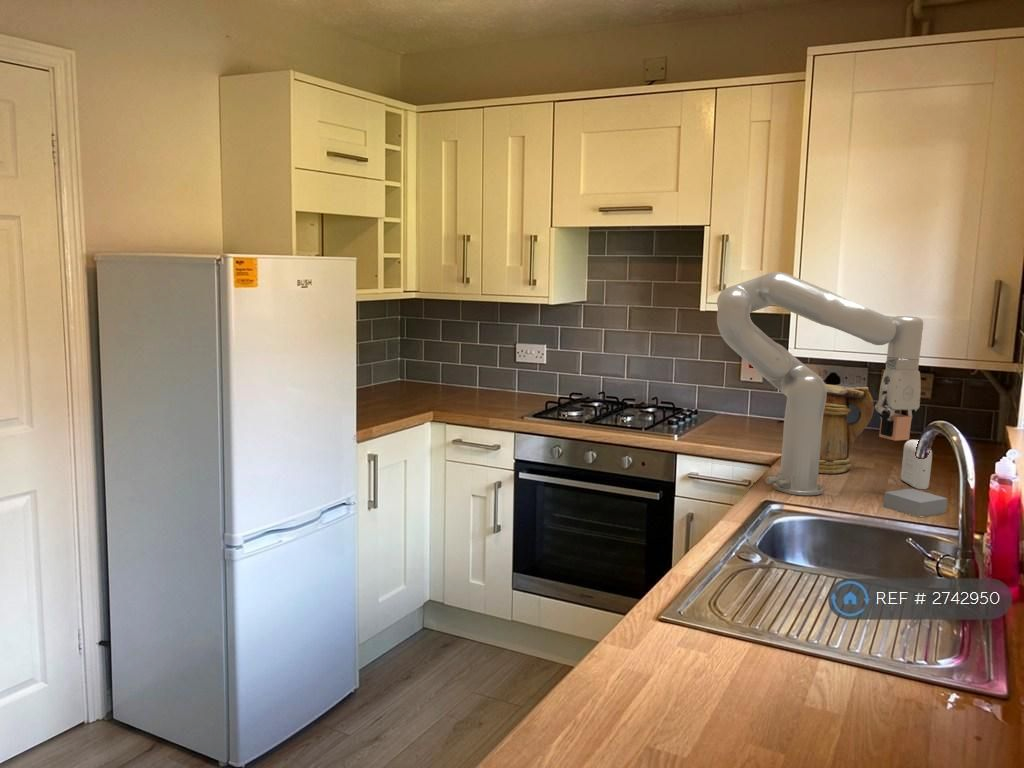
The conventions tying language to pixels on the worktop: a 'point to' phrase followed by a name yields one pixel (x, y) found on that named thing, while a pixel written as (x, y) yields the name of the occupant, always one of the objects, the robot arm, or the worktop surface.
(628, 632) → the worktop surface
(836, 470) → the tankard
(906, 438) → the terracotta block
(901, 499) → the slate block
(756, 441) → the worktop surface
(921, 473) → the photo printer
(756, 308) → the robot arm
